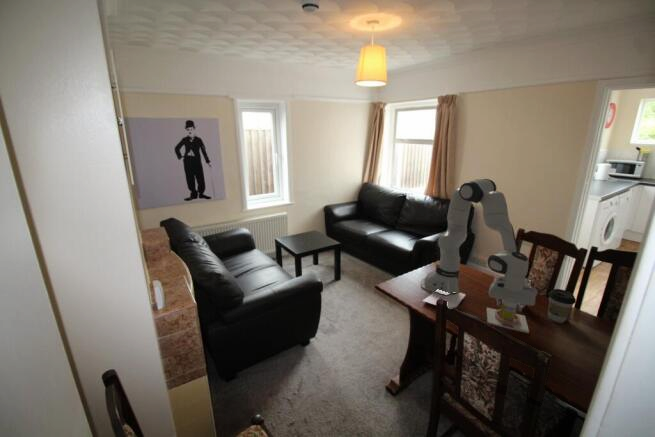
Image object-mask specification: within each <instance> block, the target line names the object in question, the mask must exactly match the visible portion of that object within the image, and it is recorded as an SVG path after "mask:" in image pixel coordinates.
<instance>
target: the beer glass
mask: <svg viewBox="0 0 655 437" xmlns="http://www.w3.org/2000/svg"><path fill="white" fill-rule="evenodd" d="M531 283H532V280H530V278H527V277H525V285H524V286H528V287H532V286H531V285H532V284H531ZM521 305H522V304H521V303H517V307H518V306H521Z"/></svg>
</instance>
